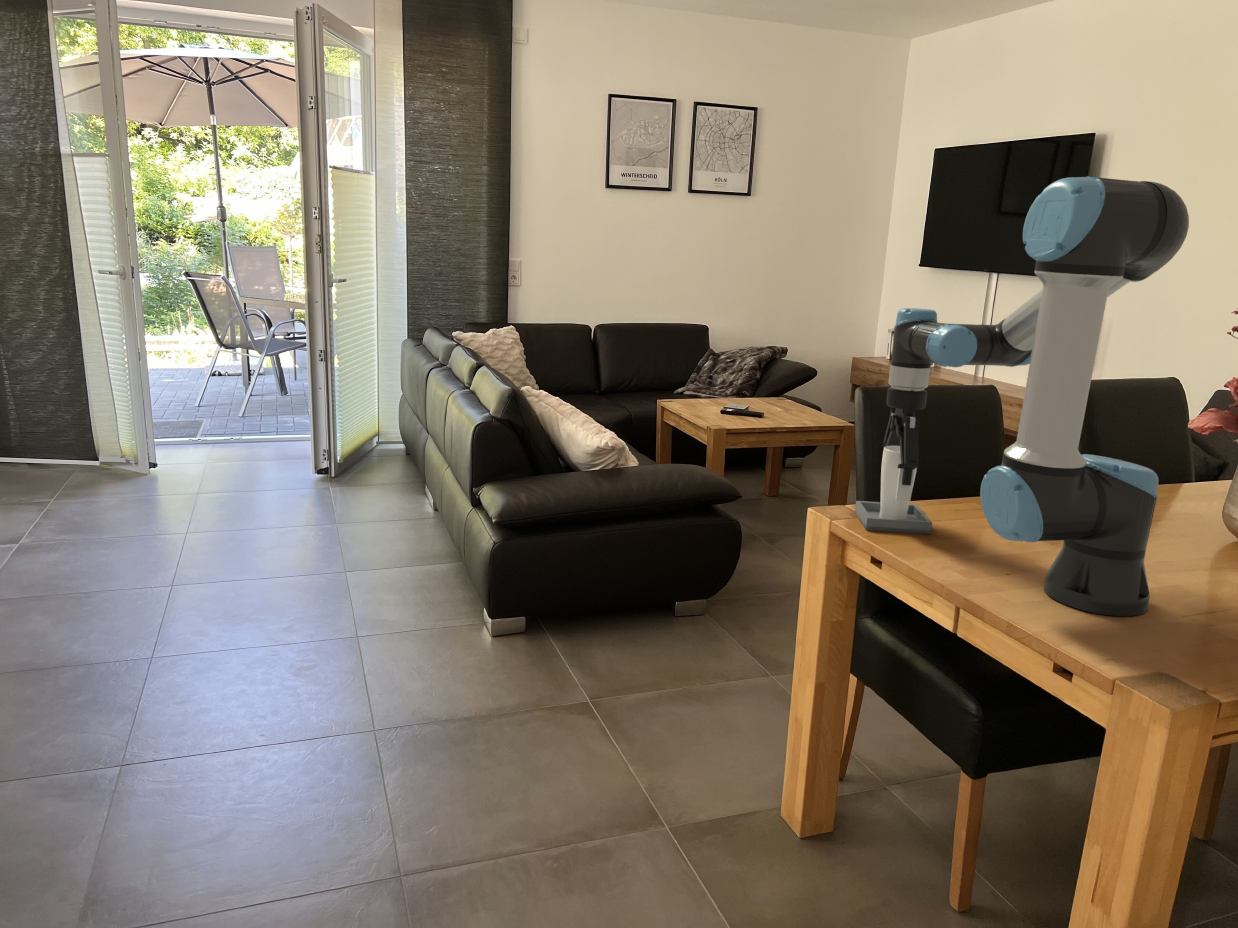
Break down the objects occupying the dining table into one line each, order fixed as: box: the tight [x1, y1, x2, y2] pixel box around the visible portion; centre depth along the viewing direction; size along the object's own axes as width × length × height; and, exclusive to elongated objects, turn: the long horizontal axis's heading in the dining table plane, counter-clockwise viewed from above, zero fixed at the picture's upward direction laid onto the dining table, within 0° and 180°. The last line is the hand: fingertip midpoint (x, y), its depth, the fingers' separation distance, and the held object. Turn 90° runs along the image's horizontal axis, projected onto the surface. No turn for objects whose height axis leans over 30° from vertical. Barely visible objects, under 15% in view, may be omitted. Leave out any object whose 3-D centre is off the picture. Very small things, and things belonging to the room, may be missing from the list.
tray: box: [854, 500, 933, 535], centre depth 180 cm, size 13×13×2 cm
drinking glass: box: [879, 445, 918, 520], centre depth 177 cm, size 7×7×15 cm
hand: (895, 491), depth 179 cm, fingers open, 13 cm apart
